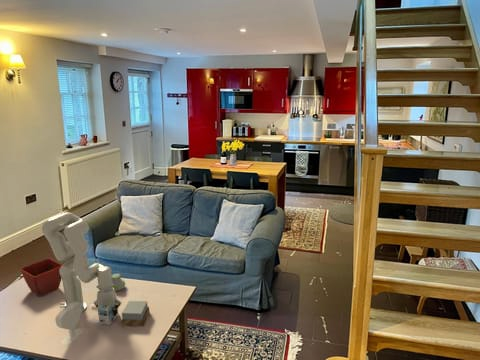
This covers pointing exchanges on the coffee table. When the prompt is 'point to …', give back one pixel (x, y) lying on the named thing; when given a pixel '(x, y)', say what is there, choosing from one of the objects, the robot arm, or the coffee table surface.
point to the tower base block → (136, 321)
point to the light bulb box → (106, 314)
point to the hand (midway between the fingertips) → (108, 314)
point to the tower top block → (135, 310)
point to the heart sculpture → (70, 320)
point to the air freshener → (117, 282)
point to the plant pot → (42, 276)
